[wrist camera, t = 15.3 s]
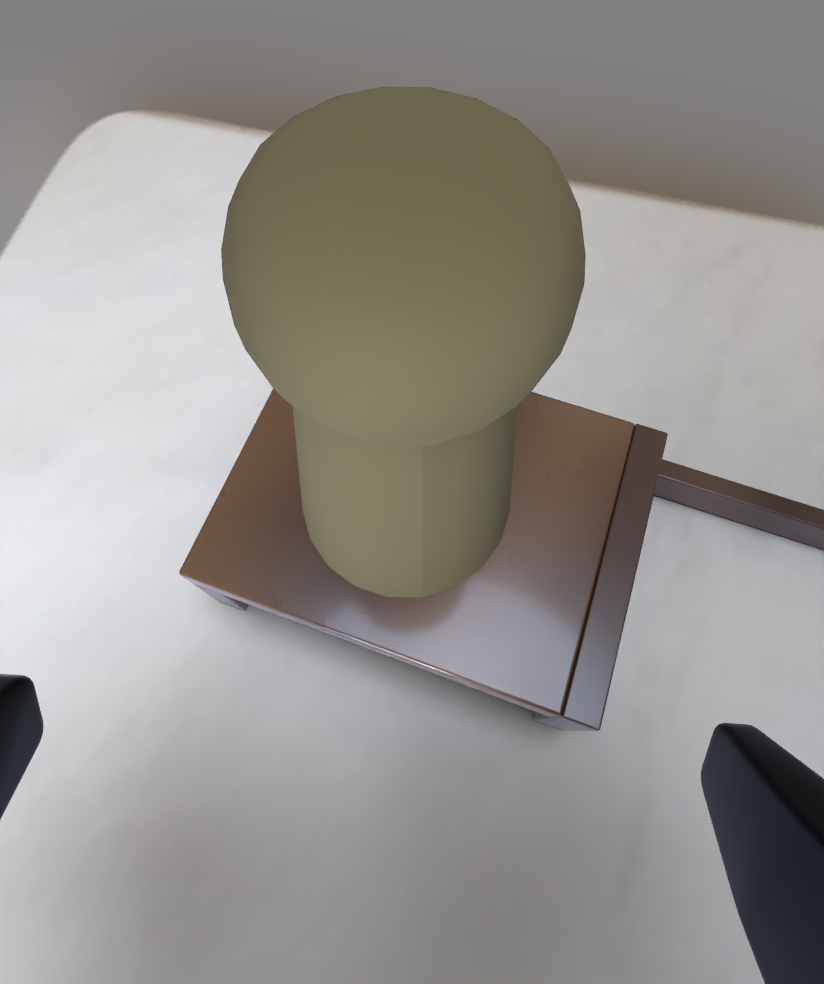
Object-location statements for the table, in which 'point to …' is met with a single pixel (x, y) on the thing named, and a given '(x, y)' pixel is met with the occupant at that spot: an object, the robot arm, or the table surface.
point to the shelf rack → (506, 574)
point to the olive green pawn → (404, 318)
